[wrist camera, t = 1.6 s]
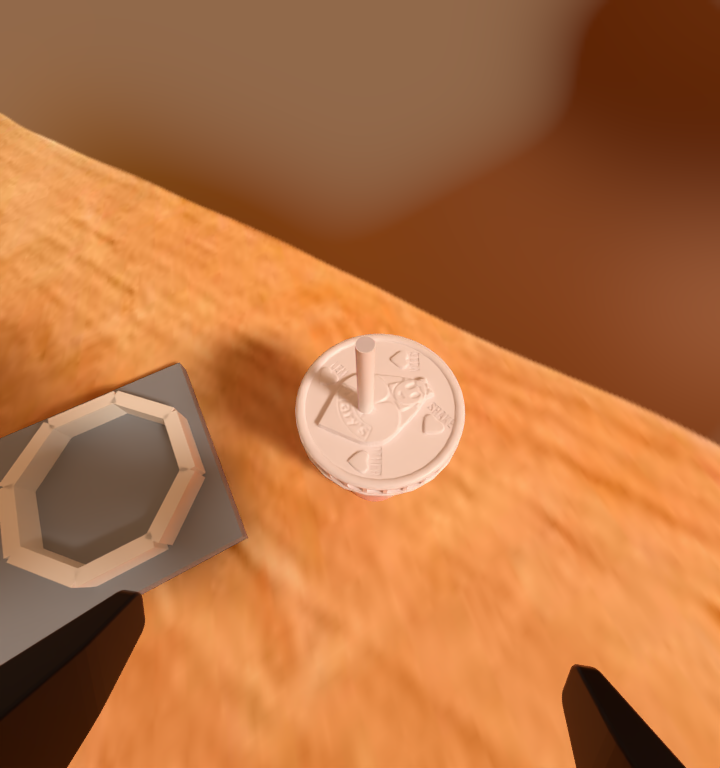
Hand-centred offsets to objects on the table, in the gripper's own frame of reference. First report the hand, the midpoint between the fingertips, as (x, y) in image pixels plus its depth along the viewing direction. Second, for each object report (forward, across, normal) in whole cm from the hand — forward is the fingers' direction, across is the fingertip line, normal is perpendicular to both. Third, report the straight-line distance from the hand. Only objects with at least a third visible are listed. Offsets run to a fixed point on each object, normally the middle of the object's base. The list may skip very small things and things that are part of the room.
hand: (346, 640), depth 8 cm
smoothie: (+14, 0, +5) cm, 15 cm away
